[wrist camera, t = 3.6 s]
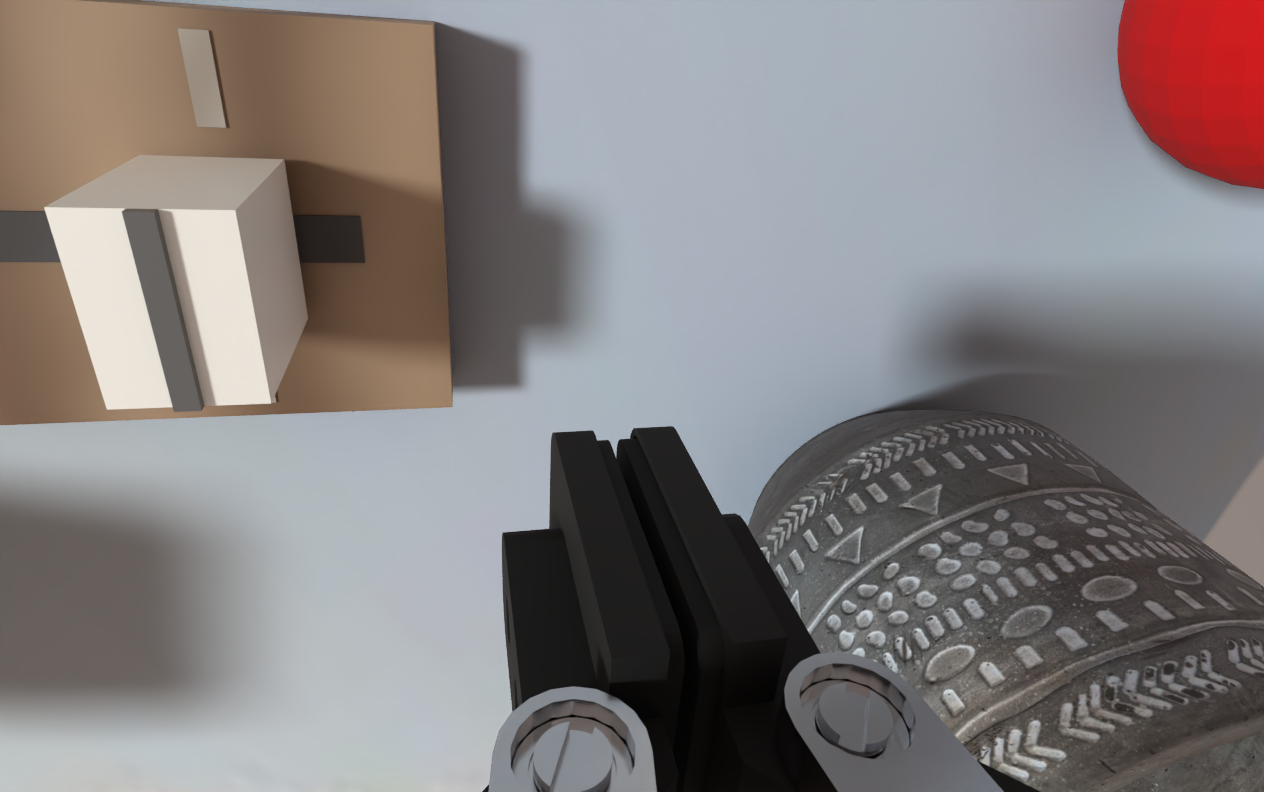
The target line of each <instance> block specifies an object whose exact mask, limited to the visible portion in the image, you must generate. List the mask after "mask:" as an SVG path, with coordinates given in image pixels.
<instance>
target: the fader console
mask: <svg viewBox="0 0 1264 792" xmlns="http://www.w3.org/2000/svg"><path fill="white" fill-rule="evenodd" d="M138 155H162V156H195V157H228V158H261V159H284V161H285V167H286V174H287V181H288V187H289V194H290V201H291V207H292V214H293V221H294V228H295V234H296V241H297V248H298V254H299V261H300V268H301V274H302V281H303V288H304V294H305V301H306V308H307V314H308V320H307V322H306V325H305V327H304V329H303V332H302V334H301V336H300V338H299V341H298V343H297V345H296V348H295V350H294V352H293V355H292V357H291V359H290V362H289V364H288V366H287V369H286V371H285V373H284V376H283V378H282V380H281V382H280V385H279V387H278V389H277V392H276V394H275V396H274V399H273V401H272V403H271V404H247V405H220V406H204V408H203V410H202V411H188V412H174V410H173V407H166V408H139V409H112V410H107V409H106V405H105V402H104V399H103V396H102V392H101V389H100V386H99V383H98V380H97V376H96V373H95V370H94V367H93V364H92V360H91V357H90V354H89V351H88V347H87V344H86V341H85V338H84V335H83V331H82V328H81V325H80V322H79V318H78V315H77V312H76V309H75V306H74V302H73V299H72V296H71V293H70V290H69V286H68V283H67V280H66V277H65V273H64V270H63V267H62V264H61V261H60V257H59V254H58V251H57V248H56V244H55V241H54V238H53V235H52V232H51V228H50V225H49V222H48V219H47V216H46V212H45V209H44V207H45V206H47V205H49V204H51V203H53V202H54V201H56V200H58V199H60V198H62V197H64V196H65V195H67V194H69V193H71V192H73V191H74V190H76V189H78V188H80V187H82V186H84V185H85V184H87V183H89V182H91V181H93V180H95V179H96V178H98V177H100V176H102V175H104V174H106V173H107V172H109V171H111V170H113V169H115V168H117V167H118V166H120V165H122V164H124V163H126V162H127V161H129V160H131V159H133V158H135V157H137V156H138ZM441 407H452V356H451V336H450V317H449V297H448V277H447V257H446V237H445V217H444V197H443V177H442V157H441V137H440V117H439V97H438V77H437V57H436V37H435V21H422V20H408V19H394V18H380V17H366V16H352V15H338V14H324V13H310V12H296V11H282V10H268V9H254V8H240V7H225V6H211V5H197V4H183V3H169V2H155V1H141V0H0V425H16V424H41V423H66V422H91V421H116V420H141V419H166V418H191V417H216V416H241V415H266V414H291V413H316V412H341V411H366V410H391V409H416V408H441Z"/></svg>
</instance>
